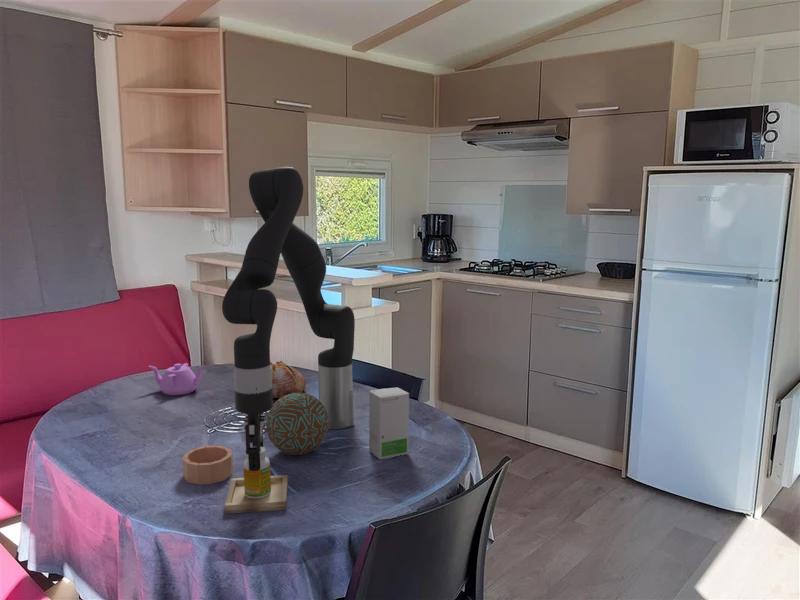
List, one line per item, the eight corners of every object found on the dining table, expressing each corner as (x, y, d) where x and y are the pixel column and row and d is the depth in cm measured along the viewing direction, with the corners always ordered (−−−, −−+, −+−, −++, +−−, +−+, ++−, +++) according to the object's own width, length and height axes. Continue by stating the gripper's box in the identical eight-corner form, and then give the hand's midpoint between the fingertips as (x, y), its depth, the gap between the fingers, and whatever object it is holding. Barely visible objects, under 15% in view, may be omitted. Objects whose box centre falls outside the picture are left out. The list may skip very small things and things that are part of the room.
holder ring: (235, 462, 148) (234, 444, 148) (229, 482, 138) (228, 463, 137) (189, 465, 147) (188, 446, 146) (180, 485, 137) (178, 466, 136)
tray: (288, 482, 138) (287, 474, 138) (286, 509, 127) (285, 501, 126) (232, 486, 137) (231, 478, 136) (224, 513, 125) (224, 505, 125)
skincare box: (379, 460, 149) (378, 398, 147) (367, 450, 155) (367, 390, 152) (410, 454, 153) (410, 392, 151) (397, 444, 159) (397, 385, 156)
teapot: (206, 391, 201) (205, 364, 199) (163, 400, 192) (161, 372, 191) (192, 382, 210) (190, 356, 208) (150, 390, 201) (148, 364, 200)
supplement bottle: (264, 501, 128) (262, 456, 127) (240, 498, 129) (238, 454, 128) (275, 488, 134) (273, 445, 132) (251, 486, 135) (249, 443, 133)
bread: (279, 382, 213) (279, 354, 212) (317, 395, 200) (317, 364, 199) (237, 391, 201) (238, 360, 200) (275, 405, 188) (275, 372, 187)
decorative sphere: (339, 456, 152) (338, 397, 149) (281, 471, 144) (278, 408, 141) (313, 436, 164) (312, 381, 162) (258, 448, 156) (256, 390, 154)
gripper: (270, 396, 121) (273, 475, 124) (274, 375, 135) (276, 446, 138) (230, 398, 120) (233, 477, 123) (238, 376, 134) (241, 448, 137)
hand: (256, 461), depth 130 cm, fingers open, 8 cm apart
